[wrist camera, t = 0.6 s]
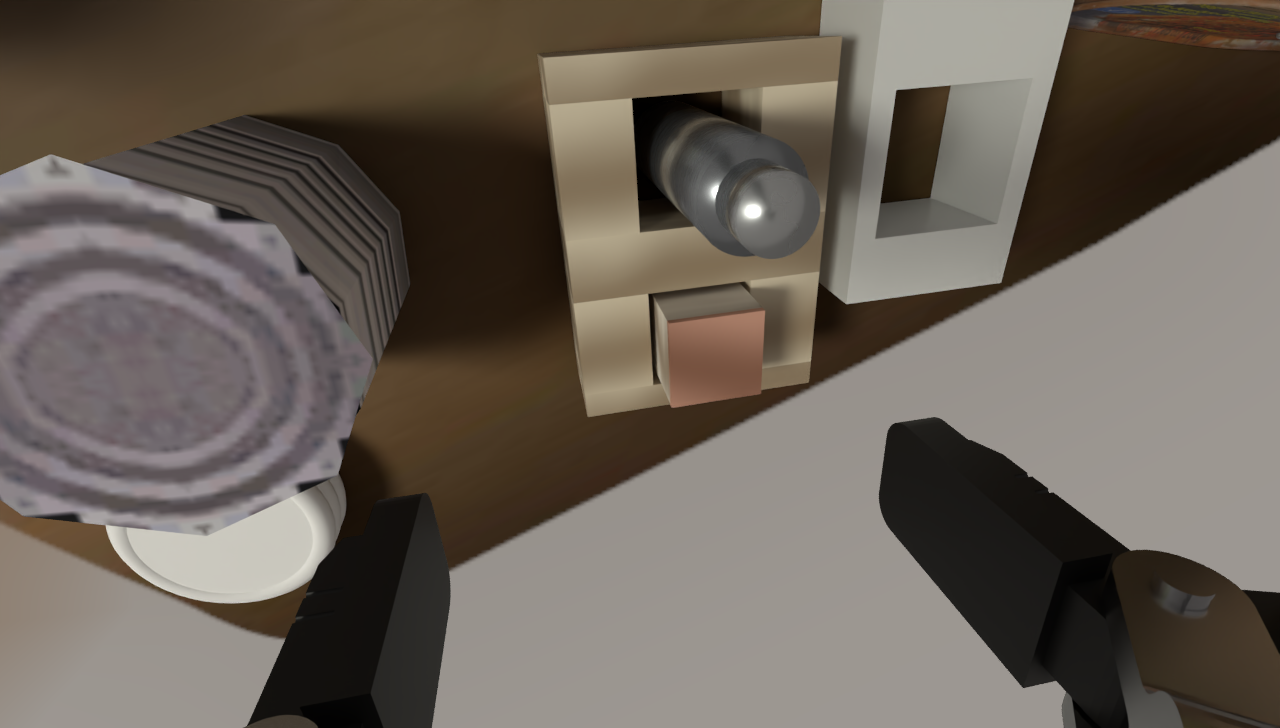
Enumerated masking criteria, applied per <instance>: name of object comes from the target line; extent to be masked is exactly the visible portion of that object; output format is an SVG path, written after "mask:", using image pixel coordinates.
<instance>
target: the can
mask: <svg viewBox="0 0 1280 728" xmlns="http://www.w3.org/2000/svg"><path fill="white" fill-rule="evenodd" d="M409 287H410V278H409V271H408V264H407V258H406V251H405V244H404V237H403V230H402V223H401V217H400V211H399V210H398V209H397V208H396V207H395V206H394V205H393V204H392V203H391V201H390V200H389V199H388V198H387V197H386V196H385V195H384V194H383V193H382V192H381V190H380V189H379V188H378V187H377V186H376V185H375V184H374V183H373V182H372V181H371V180H370V178H369V177H368V176H367V175H366V174H365V173H364V172H363V171H362V170H361V169H360V168H359V166H358V165H357V164H356V163H355V162H354V161H353V160H352V159H351V158H350V157H349V156H348V154H347V153H346V152H345V151H344V150H343V149H342V148H341V147H340V146H339V145H338V144H335V143H332V142H328V141H325V140H322V139H319V138H316V137H313V136H310V135H306V134H303V133H300V132H297V131H294V130H291V129H287V128H284V127H281V126H278V125H275V124H272V123H269V122H265V121H262V120H259V119H256V118H253V117H250V116H247V115H243V116H240V117H236V118H233V119H230V120H227V121H223V122H220V123H217V124H213V125H210V126H207V127H203V128H200V129H197V130H193V131H190V132H187V133H184V134H180V135H177V136H174V137H170V138H167V139H164V140H160V141H157V142H154V143H150V144H147V145H144V146H141V147H137V148H134V149H131V150H127V151H124V152H121V153H117V154H114V155H111V156H107V157H104V158H101V159H98V160H94V161H91V162H88V163H84V164H80V163H77V162H73V161H70V160H67V159H64V158H61V157H57V156H54V155H48V156H46V157H44V158H41V159H39V160H36V161H34V162H31V163H29V164H27V165H24V166H22V167H19V168H17V169H15V170H12V171H10V172H7V173H5V174H2V175H0V500H2V501H3V502H4V503H6V504H7V505H9V506H10V507H11V508H13V509H14V510H16V511H17V512H18V513H20V514H21V515H23V516H25V517H35V518H44V519H53V520H63V521H72V522H81V523H90V524H100V525H109V526H118V527H128V528H137V529H146V530H155V531H165V532H174V533H183V534H193V535H202V536H208V535H210V534H212V533H214V532H217V531H219V530H221V529H223V528H225V527H227V526H230V525H232V524H234V523H236V522H238V521H240V520H243V519H245V518H247V517H249V516H251V515H253V514H256V513H258V512H260V511H262V510H264V509H266V508H269V507H271V506H273V505H275V504H277V503H279V502H282V501H284V500H286V499H288V498H290V497H292V496H295V495H297V494H299V493H301V492H303V491H305V490H308V489H310V488H312V487H314V486H316V485H318V484H321V483H323V482H325V481H327V480H329V479H331V478H334V477H336V476H338V472H339V469H340V466H341V462H342V459H343V456H344V453H345V449H346V446H347V443H348V439H349V436H350V433H351V429H352V426H353V423H354V420H355V416H356V414H357V413H358V412H359V410H360V409H361V406H362V404H363V401H364V399H365V396H366V394H367V391H368V389H369V386H370V384H371V381H372V379H373V376H374V374H375V371H376V369H377V366H378V364H379V361H380V359H381V356H382V354H383V351H384V349H385V346H386V344H387V341H388V339H389V336H390V334H391V331H392V329H393V326H394V324H395V321H396V319H397V316H398V314H399V311H400V309H401V306H402V304H403V301H404V299H405V297H406V294H407V292H408V289H409Z"/></svg>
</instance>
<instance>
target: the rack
mask: <svg viewBox="0 0 1280 728" xmlns="http://www.w3.org/2000/svg"><path fill="white" fill-rule="evenodd" d="M1073 4H1074V0H822V10H821V22H820V35H819V36H842V44H841V54H840V65H839V75H838V85H837V96H836V106H835V116H834V126H833V137H832V147H831V157H830V168H829V178H828V188H827V199H826V209H825V219H824V230H823V240H822V250H821V261H820V271H819V281H818V282H819V283H820V284H822V285H823V286H824V287H825V288H827V289H828V290H829V291H830V292H832V293H833V294H834V295H835V296H837V297H838V298H839V299H840V300H842V301H843V302H844V303H845V304H852V303H859V302H866V301H873V300H880V299H888V298H895V297H902V296H909V295H916V294H924V293H931V292H938V291H945V290H952V289H960V288H967V287H974V286H981V285H988V284H996V283H1001V281H1002V277H1003V273H1004V269H1005V265H1006V261H1007V258H1008V254H1009V250H1010V246H1011V242H1012V238H1013V235H1014V231H1015V227H1016V223H1017V219H1018V215H1019V211H1020V208H1021V204H1022V200H1023V196H1024V192H1025V188H1026V185H1027V181H1028V177H1029V173H1030V169H1031V165H1032V161H1033V158H1034V154H1035V150H1036V146H1037V142H1038V138H1039V135H1040V131H1041V127H1042V123H1043V119H1044V115H1045V111H1046V108H1047V104H1048V100H1049V96H1050V92H1051V88H1052V85H1053V81H1054V77H1055V73H1056V69H1057V65H1058V61H1059V58H1060V54H1061V50H1062V46H1063V42H1064V38H1065V35H1066V31H1067V27H1068V23H1069V19H1070V15H1071V11H1072V8H1073ZM948 85H951V88H950V93H949V99H948V104H947V110H946V115H945V120H944V126H943V131H942V137H941V142H940V148H939V153H938V159H937V164H936V170H935V175H934V181H933V186H932V192H931V197H930V198H925V199H916V200H908V201H899V202H890V203H881V204H880V201H881V194H882V187H883V180H884V173H885V166H886V159H887V152H888V145H889V138H890V131H891V124H892V117H893V110H894V103H895V96H896V90H902V89H914V88H925V87H937V86H948Z"/></svg>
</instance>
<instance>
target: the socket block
mask: <svg viewBox="0 0 1280 728" xmlns="http://www.w3.org/2000/svg"><path fill="white" fill-rule="evenodd" d="M841 44H842V36H778V37H764V38H750V39H737V40H723V41H709V42H695V43H681V44H667V45H653V46H639V47H626V48H612V49H598V50H584V51H570V52H556V53H542V54H538V62H539V70H540V78H541V86H542V93H543V101H544V109H545V117H546V125H547V133H548V140H549V148H550V156H551V164H552V172H553V179H554V187H555V195H556V203H557V211H558V219H559V226H560V234H561V242H562V250H563V258H564V266H565V273H566V281H567V289H568V297H569V305H570V312H571V320H572V328H573V336H574V344H575V352H576V359H577V367H578V372H579V377H580V381H581V386H582V391H583V396H584V401H585V406H586V411H587V416H588V417H591V416H598V415H604V414H611V413H617V412H623V411H630V410H636V409H642V408H649V407H655V406H662V405H668V404H670V402H669V400H668V398H667V395H666V393H665V391H664V389H663V386H662V384H661V382H660V379H659V377H658V375H657V372H656V370H655V368H654V365H653V363H652V354H651V336H650V318H649V300H648V294H651V293H659V292H666V291H674V290H682V289H690V288H697V287H705V286H713V285H720V284H728V283H736V282H739V283H740V284H741V285H742V286H743V287H744V288H745V289H746V290H747V291H748V292H749V294H750V295H751V296H752V297H753V298H754V299H755V300H756V301H757V302H758V303H759V304H760V305H761V307H762V308H763V309H764V310H765V323H764V343H763V362H762V382H761V390H764V389H770V388H776V387H783V386H789V385H795V384H802V383H808V382H809V374H810V364H811V353H812V343H813V333H814V322H815V312H816V302H817V292H818V281H819V271H820V261H821V250H822V240H823V230H824V219H825V209H826V199H827V188H828V178H829V168H830V157H831V147H832V137H833V126H834V116H835V106H836V96H837V85H838V75H839V65H840V54H841ZM712 91H722V118H724V119H727V120H729V121H732V122H734V123H737V124H739V125H742V126H745V127H747V128H750V129H752V130H755V131H757V132H760V133H762V134H765V135H768V136H770V137H773V138H775V139H778V140H780V141H782V142H784V143H786V144H787V145H789V146H790V147H791V148H793V149H794V150H795V151H796V152H797V154H798V155H799V156H800V157H801V159H802V161H803V163H804V165H805V167H806V170H807V174H808V178H809V181H810V182H811V183H812V184H813V186H814V187H815V189H816V191H817V193H818V196H819V200H820V217H819V221H818V224H817V227H816V229H815V231H814V233H813V235H812V236H811V237H810V239H809V240H808V241H807V242H806V244H805V245H803V246H802V247H801V248H800V249H799V250H797V251H796V252H794V253H793V254H791V255H788V256H786V257H783V258H778V259H765V258H761V257H758V256H749V257H740V256H734V255H730V254H727V253H724V252H722V251H721V250H719V249H717V248H716V247H715V246H713V245H712V244H711V243H710V242H709V241H708V240H707V239H706V238H705V237H704V236H703V234H702V233H701V232H700V231H699V230H698V229H697V228H696V227H695V226H694V225H693V224H692V223H691V222H690V221H689V220H688V219H687V218H686V217H685V216H684V215H683V214H682V213H681V212H680V211H679V210H678V209H677V208H676V207H675V205H674V204H673V203H672V202H671V201H670V200H669V199H668V198H659V199H650V200H640V201H638V192H637V176H636V159H635V142H634V125H633V109H632V98H641V97H653V96H665V95H677V94H688V93H700V92H712Z"/></svg>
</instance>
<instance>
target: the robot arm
mask: <svg viewBox="0 0 1280 728" xmlns="http://www.w3.org/2000/svg"><path fill="white" fill-rule="evenodd" d="M879 503H880V508H881V512H882V515H883V518H884V520H885V522H886V524H887V526H888V527H889V528H890V530H891V531H892V532H893V533H894V535H895V536H896V537H897V538H898V540H899V541H900V542H901V543H902V544H903V545H904V547H906V549H907V550H908V551H909V552H910V554H911V555H912V556H913V557H914V559H915V560H916V561H917V562H918V563H919V564H920V566H921V567H922V568H923V569H924V570H925V572H926V573H927V574H928V575H929V576H930V578H931V579H932V580H933V581H934V582H935V584H936V585H937V586H938V587H939V588H940V590H941V591H942V592H943V593H944V594H945V595H946V597H947V598H948V599H949V600H950V601H951V603H952V604H953V605H954V606H955V607H956V609H957V610H958V611H959V612H960V613H961V615H962V616H963V617H964V618H965V619H966V621H967V622H968V623H969V624H970V625H971V626H972V628H973V629H974V630H975V631H976V632H977V634H978V635H979V636H980V637H981V638H982V640H983V641H984V642H985V643H986V644H987V646H988V647H989V648H990V649H991V650H992V651H993V653H994V654H995V655H996V656H997V657H998V659H999V660H1000V661H1001V662H1002V663H1003V665H1004V666H1005V667H1006V668H1007V669H1008V671H1009V672H1010V673H1011V674H1012V675H1013V676H1014V678H1015V679H1016V680H1017V681H1018V682H1019V684H1020V685H1021V686H1022V687H1023V688H1026V687H1030V686H1035V685H1039V684H1044V683H1048V682H1053V681H1057V682H1058V683H1059V684H1060V685H1061V686H1062V687H1063V688H1064V690H1065V691H1066V694H1065V697H1064V700H1063V704H1062V717H1063V725H1064V728H1280V593H1276V592H1262V591H1250V590H1241V589H1240V588H1239V587H1238V586H1237V585H1235V584H1234V583H1233V582H1231V581H1230V580H1229V579H1227V578H1226V577H1224V576H1222V575H1221V574H1219V573H1217V572H1216V571H1214V570H1212V569H1210V568H1208V567H1206V566H1204V565H1202V564H1199V563H1197V562H1195V561H1192V560H1190V559H1187V558H1184V557H1181V556H1178V555H1174V554H1170V553H1166V552H1160V551H1153V550H1133V551H1130V550H1129V549H1128V548H1126V547H1125V546H1124V545H1122V544H1121V543H1120V542H1118V541H1117V540H1116V539H1114V538H1113V537H1112V536H1110V535H1109V534H1108V533H1106V532H1105V531H1104V530H1102V529H1101V528H1100V527H1099V526H1097V525H1096V524H1095V523H1093V522H1092V521H1091V520H1089V519H1088V518H1086V517H1085V516H1084V515H1083V514H1081V513H1080V512H1078V511H1077V510H1076V509H1075V508H1073V507H1072V506H1071V505H1069V504H1068V503H1066V502H1065V501H1064V500H1063V499H1061V498H1060V497H1059V496H1057V495H1056V494H1054V493H1049V492H1048V488H1047V487H1045V486H1044V485H1043V484H1041V483H1040V482H1039V481H1037V480H1036V479H1034V478H1033V477H1028V475H1027V472H1025V471H1024V470H1023V469H1021V468H1020V467H1019V466H1017V465H1016V464H1015V463H1013V462H1012V461H1011V460H1010V459H1008V458H1007V457H1006V456H1004V455H1003V454H1001V453H998V452H996V451H994V450H992V449H990V448H987V447H985V446H983V445H981V444H978V443H976V442H974V441H972V440H968V439H966V438H965V437H964V436H963V435H961V434H960V433H959V432H957V431H956V430H955V429H954V428H952V427H951V426H950V425H948V424H947V423H946V422H945V421H943V420H942V419H940V418H936V417H933V418H927V419H919V420H913V421H907V422H900V423H895V424H893V425H892V426H891V427H890V428H889V430H888V433H887V438H886V446H885V453H884V461H883V468H882V475H881V484H880V490H879ZM449 606H450V576H449V569H448V564H447V560H446V556H445V552H444V549H443V545H442V541H441V537H440V533H439V529H438V525H437V522H436V518H435V514H434V510H433V506H432V503H431V500H430V497H429V496H428V494H427V493H422V494H415V495H409V496H402V497H395V498H389V499H382V500H378V501H376V503H375V504H374V506H373V509H372V512H371V515H370V517H369V520H368V523H367V525H366V528H365V531H364V533H363V535H359V536H353V537H347V538H343V539H342V540H341V541H340V542H339V543H338V544H337V545H336V546H335V547H334V548H333V550H332V551H331V552H330V553H329V554H328V555H327V556H326V557H325V558H324V559H323V560H322V561H321V562H320V563H319V565H318V567H317V569H316V571H315V574H314V576H313V578H312V580H311V583H310V585H309V587H308V589H307V592H306V598H304V599H303V601H302V603H301V605H300V608H299V610H298V612H297V614H296V617H295V618H296V622H295V623H293V624H292V626H291V628H290V630H289V633H288V635H287V637H286V639H285V642H284V644H283V646H282V649H281V651H280V653H279V656H278V658H277V660H276V662H275V664H274V667H273V669H272V671H271V674H270V676H269V678H268V680H267V682H266V685H265V687H264V689H263V692H262V694H261V696H260V699H259V701H258V703H257V705H256V708H255V710H254V712H253V714H252V716H251V719H250V721H249V723H248V725H247V726H246V727H244V728H432V722H433V715H434V708H435V701H436V695H437V688H438V681H439V675H440V668H441V661H442V654H443V648H444V641H445V634H446V627H447V620H448V613H449Z"/></svg>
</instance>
